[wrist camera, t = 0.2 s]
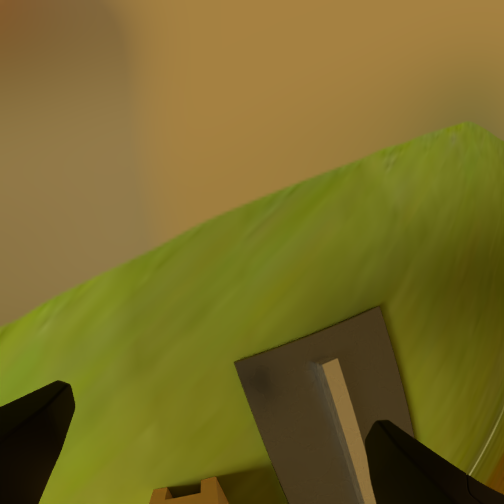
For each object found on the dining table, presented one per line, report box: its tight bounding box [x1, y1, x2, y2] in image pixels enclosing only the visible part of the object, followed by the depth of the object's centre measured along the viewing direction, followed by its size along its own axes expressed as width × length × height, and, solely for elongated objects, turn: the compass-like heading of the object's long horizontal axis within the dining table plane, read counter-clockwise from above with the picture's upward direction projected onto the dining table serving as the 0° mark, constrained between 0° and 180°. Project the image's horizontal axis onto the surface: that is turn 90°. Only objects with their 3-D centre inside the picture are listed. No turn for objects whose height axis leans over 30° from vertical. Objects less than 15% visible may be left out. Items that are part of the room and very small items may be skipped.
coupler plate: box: [234, 306, 414, 504], centre depth 20 cm, size 20×12×2 cm, turn 19°
